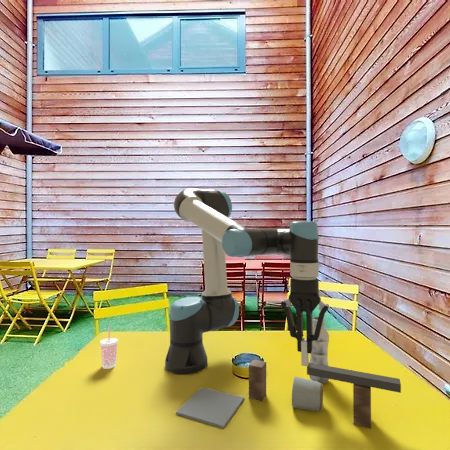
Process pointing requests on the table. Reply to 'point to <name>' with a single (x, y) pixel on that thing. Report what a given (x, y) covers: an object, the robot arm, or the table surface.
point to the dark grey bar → (354, 377)
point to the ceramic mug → (307, 394)
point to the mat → (211, 407)
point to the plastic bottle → (319, 350)
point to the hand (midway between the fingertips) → (305, 363)
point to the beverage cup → (108, 351)
